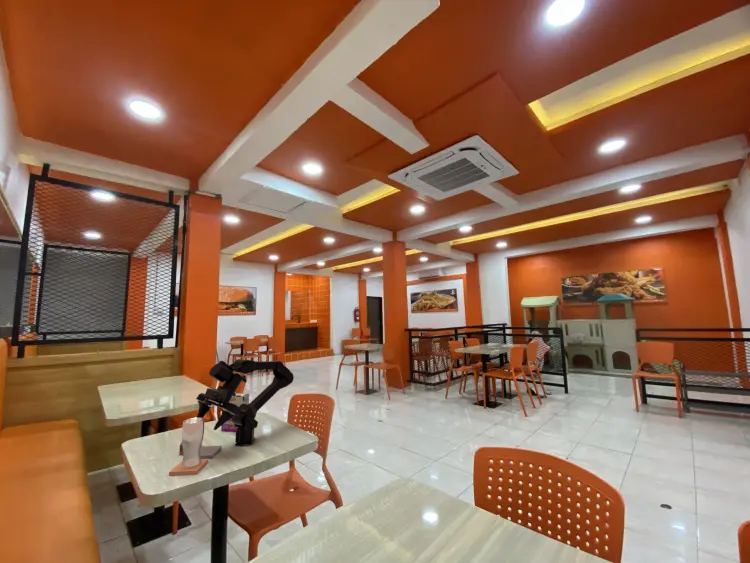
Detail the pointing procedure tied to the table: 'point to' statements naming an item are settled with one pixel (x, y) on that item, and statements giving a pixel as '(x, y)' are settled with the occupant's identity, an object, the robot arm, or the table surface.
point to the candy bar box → (238, 400)
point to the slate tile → (209, 451)
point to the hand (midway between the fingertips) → (205, 426)
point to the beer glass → (192, 441)
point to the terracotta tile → (188, 469)
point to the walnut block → (181, 449)
